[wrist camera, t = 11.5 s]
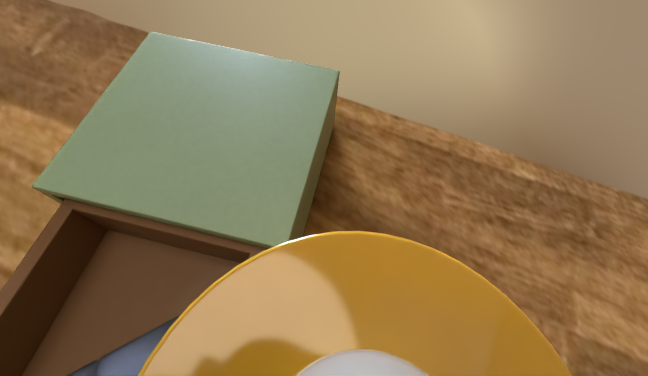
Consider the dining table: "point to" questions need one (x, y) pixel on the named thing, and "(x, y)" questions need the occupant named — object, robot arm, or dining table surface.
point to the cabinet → (203, 141)
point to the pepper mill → (353, 317)
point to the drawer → (103, 286)
